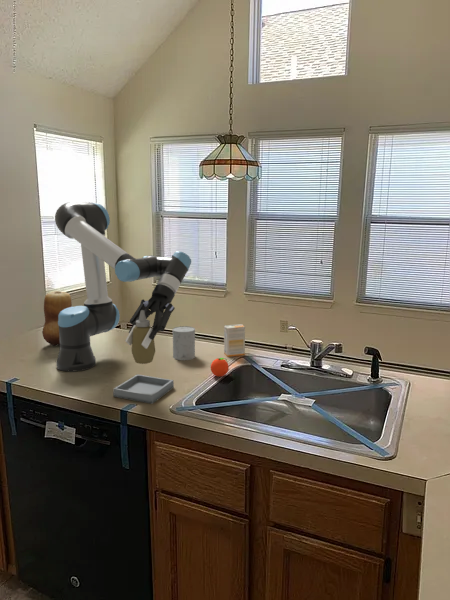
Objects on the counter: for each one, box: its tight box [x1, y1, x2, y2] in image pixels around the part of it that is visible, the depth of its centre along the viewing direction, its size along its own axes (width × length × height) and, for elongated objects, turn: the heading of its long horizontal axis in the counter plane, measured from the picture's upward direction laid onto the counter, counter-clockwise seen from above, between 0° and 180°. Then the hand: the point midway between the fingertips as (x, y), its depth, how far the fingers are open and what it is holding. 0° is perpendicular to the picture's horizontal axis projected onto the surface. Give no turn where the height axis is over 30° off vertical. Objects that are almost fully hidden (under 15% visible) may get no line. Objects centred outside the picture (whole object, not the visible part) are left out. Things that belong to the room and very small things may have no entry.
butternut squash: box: [41, 290, 73, 347], centre depth 211 cm, size 14×13×25 cm
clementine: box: [210, 357, 230, 377], centre depth 176 cm, size 8×7×7 cm
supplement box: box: [223, 323, 246, 358], centre depth 200 cm, size 8×5×13 cm, turn 108°
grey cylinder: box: [172, 325, 196, 361], centre depth 197 cm, size 10×10×12 cm
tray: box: [112, 373, 175, 405], centre depth 160 cm, size 15×15×3 cm
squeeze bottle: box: [131, 310, 156, 365], centre depth 156 cm, size 8×8×18 cm
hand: (136, 344), depth 153 cm, fingers closed on squeeze bottle, 6 cm apart
